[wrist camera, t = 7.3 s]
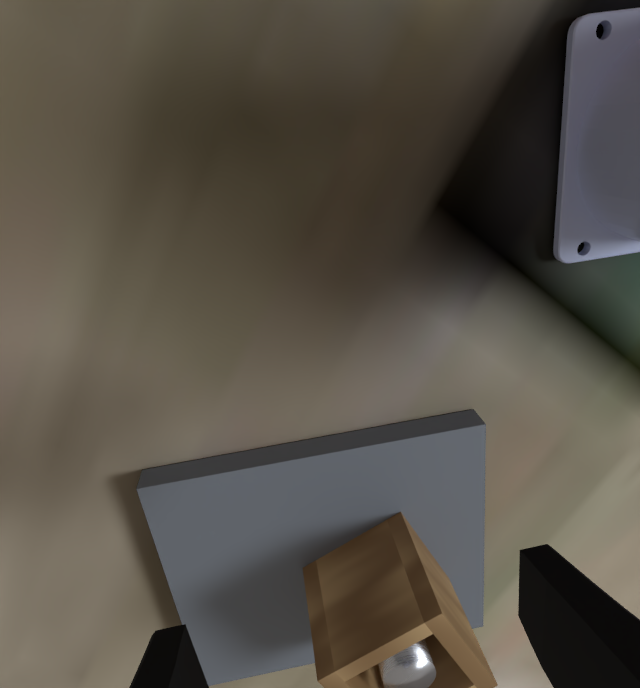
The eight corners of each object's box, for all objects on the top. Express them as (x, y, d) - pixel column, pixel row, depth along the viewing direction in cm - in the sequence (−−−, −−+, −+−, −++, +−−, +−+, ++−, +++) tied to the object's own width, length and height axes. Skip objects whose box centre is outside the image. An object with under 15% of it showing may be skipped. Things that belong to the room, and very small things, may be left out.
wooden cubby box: (400, 511, 22) (442, 613, 17) (449, 578, 24) (497, 685, 19) (302, 567, 22) (317, 681, 18) (357, 628, 24) (384, 744, 20)
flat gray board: (473, 409, 22) (485, 424, 21) (473, 605, 27) (483, 626, 25) (141, 470, 21) (136, 489, 20) (204, 663, 26) (203, 687, 24)
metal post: (391, 533, 24) (435, 654, 18) (393, 565, 25) (436, 689, 19) (349, 542, 24) (381, 666, 18) (353, 573, 25) (385, 701, 19)
